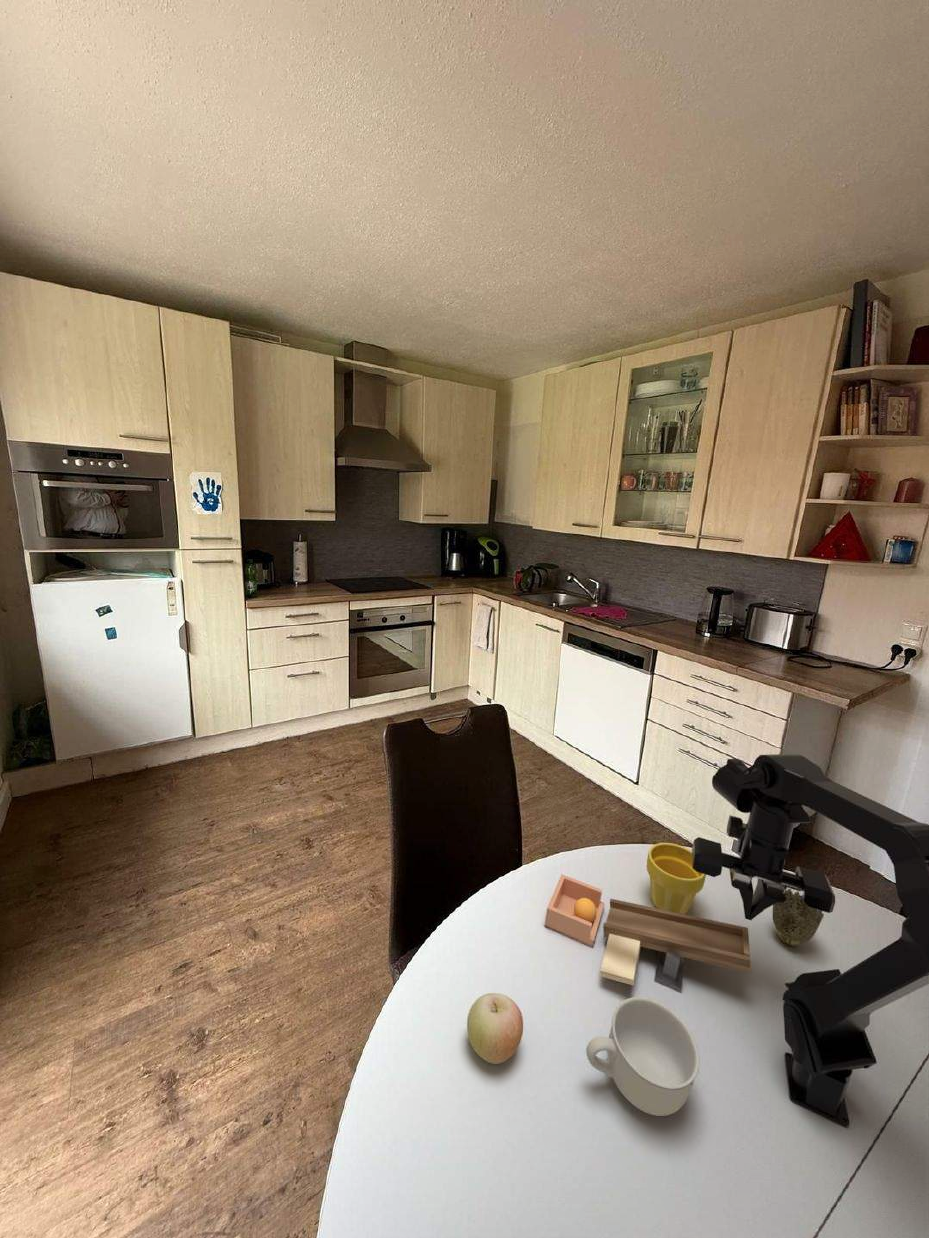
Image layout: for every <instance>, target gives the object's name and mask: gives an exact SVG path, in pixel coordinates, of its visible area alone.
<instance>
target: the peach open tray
mask: <svg viewBox="0 0 929 1238" xmlns="http://www.w3.org/2000/svg"><path fill="white" fill-rule="evenodd" d="M555 886H556V887H555V889H554V891H553V894H552V896H551V898H550V901H549V902H548V905H547V907H546V913H545V920H544V928H547V929H548V930H551V931H553V932H556V933H558V934H560V935H562V936H564V937H567V938H569V939H572V940H573V941H576V942H578V943H580V944H583V945H585V946H588V947H589V948H593V949H594V944H595V941H596V937H597V934H598V930H599V926H600V924H601V919H602V916H603V912H604V910H605V902H604V901H602V895H603V894H602V892H603V889H601V888H598V887H596V886H594V885H591V884H588V883H585V882H584V881H580V880H579V879H578V880H577V879H576V878H572V877H569V876H568V875H565V874H561V875H560V877H559V879H558V881H557V884H556V885H555ZM581 898H587V899H590V900H591V901H592V902H593V903H594V904H595V907H596V910H597V914H596V917H595V919H594V920H593V921H592V922H591V923H590V922H588V921H586V920H583V919H581V918H578V917H576V916H575V913H574V905H575V903H576V901H577V900H579V899H581Z"/></svg>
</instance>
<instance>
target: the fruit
mask: <svg viewBox="0 0 929 1238" xmlns="http://www.w3.org/2000/svg"><path fill="white" fill-rule="evenodd" d="M466 1030H467V1031H466V1032H467V1036H468V1039H469V1042H470V1045H471V1046H472V1048H473V1050H474V1051H475V1053H476V1054H477V1055H478V1056H479V1057H480V1058H481V1059H483V1060H484V1061H486V1062H488V1063H490V1064H494V1065H495V1064H496V1065H497V1064H502V1063H504V1062H506V1061H507V1060H509V1059H510V1058H511V1057H512V1056H513V1055H514V1054H515V1052H516V1051H517V1049H518V1048H519V1046H520V1044H521V1042H522V1038H523V1033H524V1018H523V1014H522V1011H521V1009H520V1007H519V1006H518V1004H517V1003H516V1002H515V1001H514V1000H513V999H512V998H510V997H509V996H508V995H506V994H502V993H497V992H495V993H494V992H491V993H486V994H485V993H484V994H483V995H481V996H479V997H478V998H477V999H476V1000H475V1002H474V1003H473V1004H472V1005H471V1007H470V1009H469V1012H468V1014H467V1020H466Z"/></svg>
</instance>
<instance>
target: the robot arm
mask: <svg viewBox="0 0 929 1238" xmlns="http://www.w3.org/2000/svg"><path fill="white" fill-rule="evenodd" d="M711 786H712V787H713V788H712V789H713V790H715V792H717V793H718V794H719V795H720V796H721V797H723V799H724V800H726V801H727V802H728V803H729V804H730V805H731V806H733V807H734V808H735V809H736V810H737V811H739V812H741V813H744V814H749V816H748V821H747V822H746V823H745V822H744V821H743V819H742V817H738V816H734V815H729V817H728V819H727V825H726V834H727V836H728V837H730V838H733V839H736V840H737V848H736V849H737V853H740V856H739V857H738V856H735V855H731V854H728V853H724V852H723V851H722V843H720V842H716V841H714V840H709V839H707V838H703V837H700V836H699V837H696V838H695V839H694V840H693V842H692V847H691V851H692V868H693V869H694V870H695V871H696V872H699V873H702V874H706V876H708V877H709V876H710V877H713V878H716V877H718V876H721V874H722V870H723V868H725V869H728V870H729V875H730V883H731V886H732V887H733V888H734V889H737V890H738V891H739V894H740V897H741V900H742V905H743V914H744V919H745V920H748V921H753V919H755V918H756V917H757V916H759V915H760V914H761V913H762V912H764V911H765V910H766V909H768V908H770V907H771V906H772V907H773V905H774V904H776V903H777V902H781V903H785V902H786V896H785V893H784V892H785V890H788V889H791V890H794V891H796V892H797V891H798V892H803V894H802V895H803V897H802V898H803V900H804V902H805V903H806V904H807V906H808V907H811V908H814V909H817V910H821V911H822V912H824V913H827V914H831V913H833V911H834V907H835V905H836V894H835V892H834V890H833V888H832V885H831V882H830V880H829V878H828V876H827V875H826V874H825V872H821V871H817V870H814V869H811V868H807V867H803V866H796V868H795V872H794V873H790V872H787V871H784V866H785V862H786V861H788V858H789V854H790V853H789V847H790V843H791V840H792V834H793V830H794V827H795V824H809V823H811V822H812V819H811V817H810V815H809V814H808V812H807V811H806V810H805V809H804V807H806V808H809V809H810V810H813V811H815V812H816V813H818V814H820V815H821V816H823V817H825V818H827V819H828V820H831V822H834V823H836V824H838V825H839V826H841V827H843V828H845V829H846V830H848V831H850V832H852V833H853V834H855V835H857V836H858V837H860V838H862V839H864V840H865V841H867V842H869V843H872V844H873V845H874V846H877V847H878V848H880V849H882V850H883V851H885V852H886V854H887V856H888V858H889V859H890V862H891V863H892V864H893V872H894V877H895V879H894V880H895V886H896V895H897V897H898V900H899V901H900V903H901V904H902V907H903V908H904V911H905V912H906V914H907V917H906V918H905V919H904V920H903V922H902V924H901V925H902V926H901V936H900V937H899V938H898V939H897V940H895V941H894V942H892V943H890V944H888V945H887V946H885V947H884V948H882V949H880V950H878V951H877V952H875V953H874V954H871V955H870V956H869V957H867V958H865V959H863V960H862V961H861V962H859V963H857V964H856V965H853V966H852V967H850V968H849V969H847V970H846V971H844V972H843V973H841V971H840V968H839V969H838V968H837V969H835V968H834V969H829V970H827V969H826V970H821V971H820V970H819V971H811V972H803V973H800V975H798V976H797V977H796V978H795V979H794V981H790V982H784V986H785V987H786V988H787V989H786V990H785V991H784V992H783V994H782V1001H783V1006H782V1011H783V1028H784V1029H783V1030H784V1040H785V1043H787V1045H788V1046H789V1048H790V1049H791V1052H792V1053H789V1052H788V1051H787V1052H784V1054H783V1057H784V1066H785V1075H786V1081H787V1083H786V1084H787V1089H788V1097H789V1099H790V1100H791V1101H792V1102H794V1103H796V1104H797V1105H800V1106H802V1107H804V1108H806V1109H808V1110H810V1111H813V1112H814V1113H817V1114H819V1115H821V1116H823V1117H825V1118H827V1119H829V1120H831V1121H833V1122H835V1123H837V1124H839V1125H842V1126H844V1127H846V1128H848V1127H849V1126H850V1123H851V1122H850V1118H849V1114H848V1113H849V1112H848V1110H847V1105H846V1104H847V1103H846V1101H845V1095H846V1092H847V1090H848V1089H847V1088H848V1086H849V1083H850V1081H851V1080H850V1079H851V1077H852V1074H853V1071H854V1070H861V1069H864V1070H865V1069H870V1068H872V1067H873V1066H875V1065H876V1064H877V1063H878V1062H877V1059H876V1056H875V1053H874V1051H873V1049H872V1046H871V1043H870V1040H869V1038H868V1035H867V1033H866V1029H867V1028H868V1027H869V1025H870V1022H871V1021H870V1020H871V1014H872V1013H874V1012H875V1011H877V1010H880V1009H881V1008H883V1007H885V1006H888V1005H889V1004H892V1003H893V1002H896V1001H898V1000H899V999H901V998H903V997H905V996H907V995H910V994H911V993H914V992H915V991H917V990H920V989H921V988H924V987H925V986H927V985H929V874H928V873H929V872H928V867H929V823H923V822H920V821H917V820H915V819H913V818H912V817H909V816H906V815H905V814H903V813H900V812H898V811H897V810H894V809H892V808H890V807H888V806H886V805H883V804H881V803H880V802H878V801H876V800H873V799H871V798H869V797H867V796H865V795H863V794H861V793H858V792H856V791H854V790H852V789H850V788H849V787H846V786H844V785H842V784H840V783H838V782H835V781H834V780H832V779H831V778H829V777H828V776H826V774H825V772H824V770H823V769H822V768H821V767H820V766H819V765H817V764H815V763H814V762H812V761H811V760H810V759H809V758H806V757H805V756H804V755H802V754H798V753H788V754H787V753H786V754H785V753H783V754H782V753H781V754H779V753H778V754H777V753H776V754H759V756H757V757H756V758H755V760H754V762H753V764H752V765H750V766H747V765H746V764H745V763H744V761H742V760H741V759H739V758H728V759H727V761H726V764H724V765H723V766H721V767H720V768H718V770H717V771H716V772H715V774H714V775H713V776H712V779H711ZM803 806H804V807H803ZM753 878H754V879H755V878H756V879H757V883H756V887H755V889H754V886H753V881H752V880H753Z"/></svg>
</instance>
